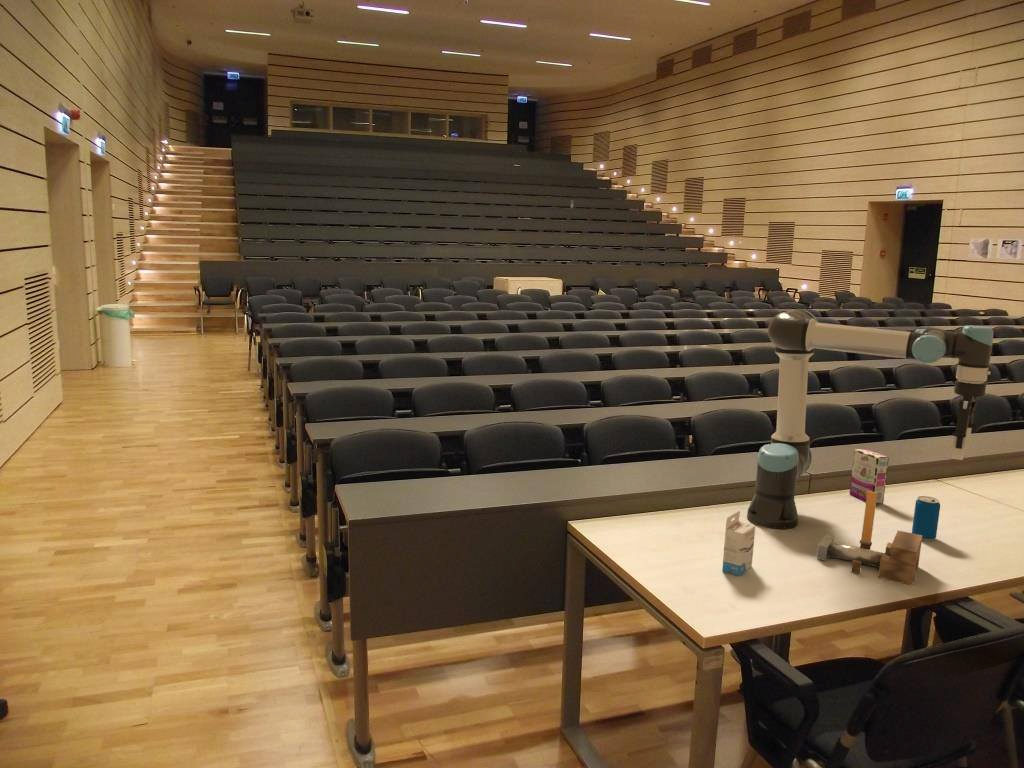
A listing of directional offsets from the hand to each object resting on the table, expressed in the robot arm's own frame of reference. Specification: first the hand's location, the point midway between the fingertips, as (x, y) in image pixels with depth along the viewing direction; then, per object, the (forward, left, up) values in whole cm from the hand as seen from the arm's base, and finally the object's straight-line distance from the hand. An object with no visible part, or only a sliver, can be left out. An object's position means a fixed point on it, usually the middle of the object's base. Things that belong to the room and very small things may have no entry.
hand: (960, 454), depth 222 cm
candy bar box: (-26, +29, -27) cm, 48 cm away
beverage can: (-6, +1, -27) cm, 28 cm away
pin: (-19, -31, -27) cm, 46 cm away
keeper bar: (-19, -24, -16) cm, 35 cm away
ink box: (-45, -55, -27) cm, 76 cm away
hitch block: (-13, -31, -27) cm, 43 cm away
